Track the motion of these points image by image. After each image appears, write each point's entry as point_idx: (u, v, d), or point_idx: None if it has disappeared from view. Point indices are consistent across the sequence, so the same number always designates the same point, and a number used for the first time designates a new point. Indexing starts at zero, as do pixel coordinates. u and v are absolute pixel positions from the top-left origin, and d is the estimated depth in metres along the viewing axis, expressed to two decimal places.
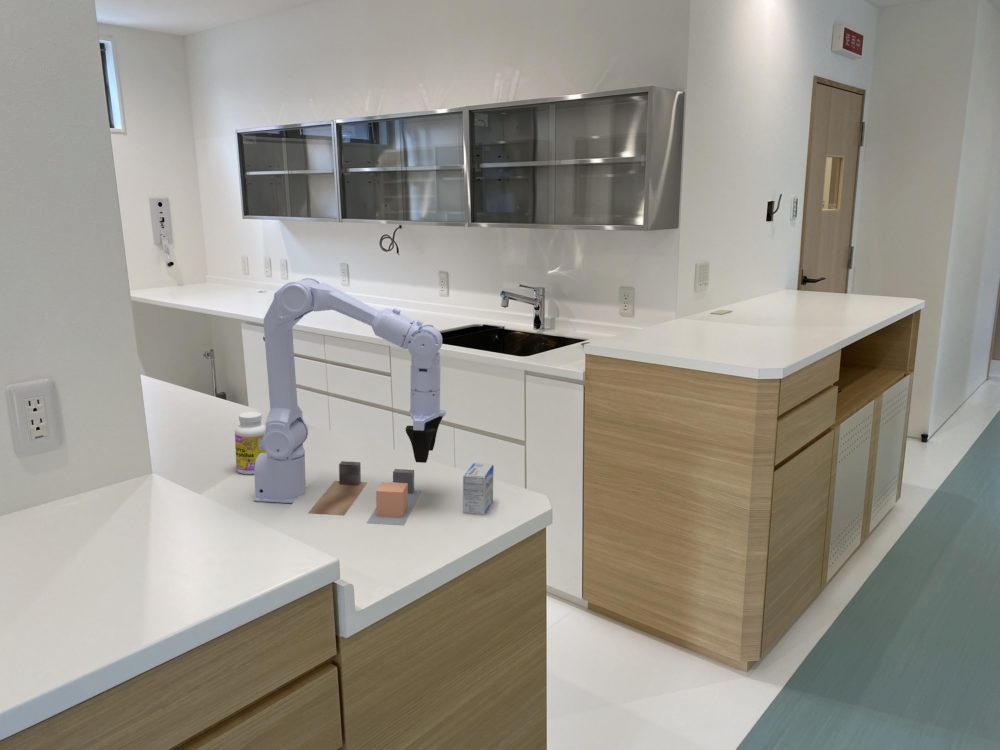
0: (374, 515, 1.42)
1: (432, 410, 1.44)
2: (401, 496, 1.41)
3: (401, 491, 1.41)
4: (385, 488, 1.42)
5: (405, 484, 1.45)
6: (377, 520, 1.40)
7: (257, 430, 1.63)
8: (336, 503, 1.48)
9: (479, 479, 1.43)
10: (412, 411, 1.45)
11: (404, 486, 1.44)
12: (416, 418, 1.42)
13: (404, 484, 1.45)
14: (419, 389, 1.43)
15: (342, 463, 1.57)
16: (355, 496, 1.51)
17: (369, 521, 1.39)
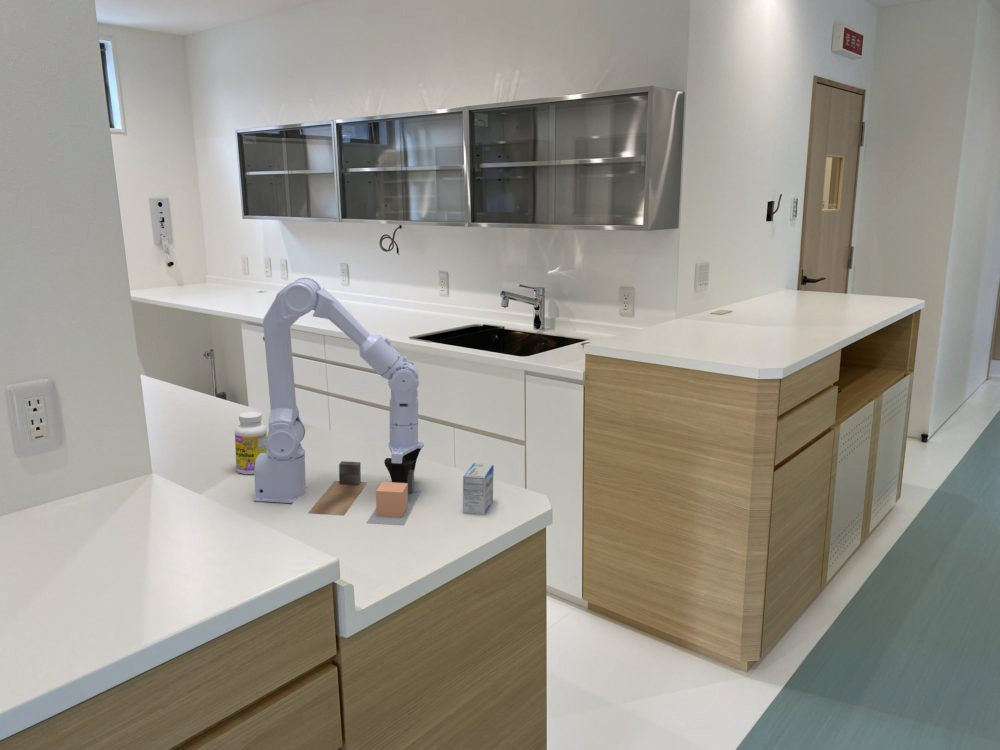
0: (374, 515, 1.42)
1: (410, 443, 1.50)
2: (401, 496, 1.41)
3: (401, 491, 1.41)
4: (385, 488, 1.42)
5: (405, 484, 1.45)
6: (377, 520, 1.40)
7: (257, 430, 1.63)
8: (336, 503, 1.48)
9: (479, 479, 1.43)
10: (391, 444, 1.51)
11: (404, 486, 1.44)
12: (394, 451, 1.48)
13: (404, 484, 1.45)
14: (400, 423, 1.49)
15: (342, 463, 1.57)
16: (355, 496, 1.51)
17: (369, 521, 1.39)
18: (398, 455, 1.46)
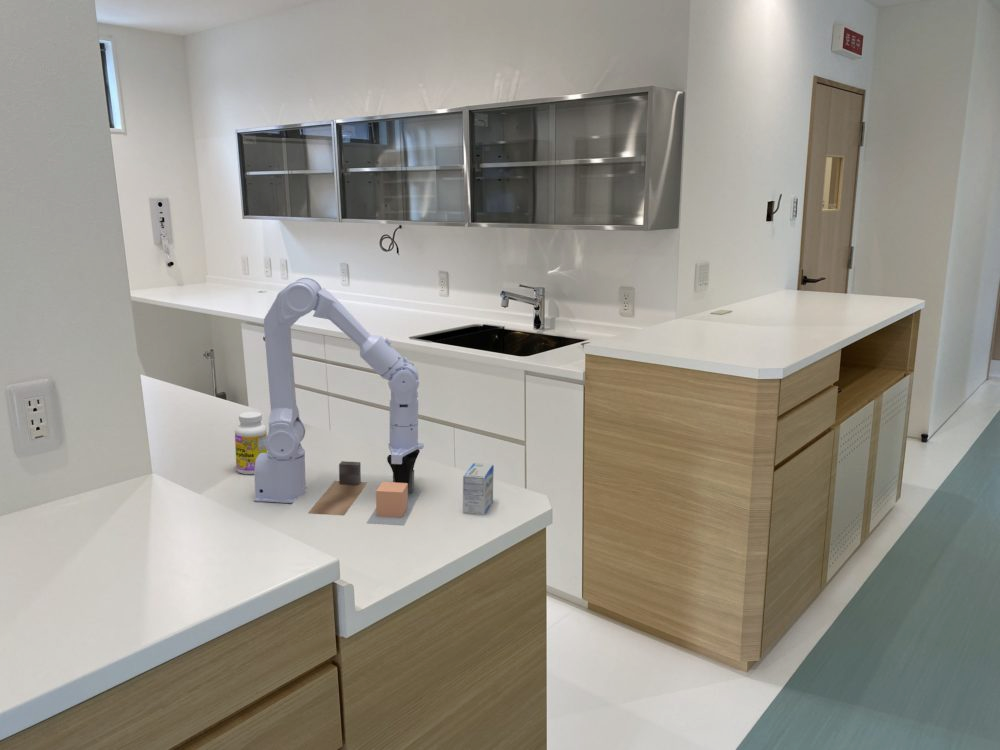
0: (374, 515, 1.42)
1: (410, 443, 1.50)
2: (401, 496, 1.41)
3: (401, 491, 1.41)
4: (385, 488, 1.42)
5: (405, 484, 1.45)
6: (377, 520, 1.40)
7: (257, 430, 1.63)
8: (336, 503, 1.48)
9: (479, 479, 1.43)
10: (391, 444, 1.51)
11: (404, 486, 1.44)
12: (394, 452, 1.48)
13: (404, 484, 1.45)
14: (400, 424, 1.49)
15: (342, 463, 1.57)
16: (355, 496, 1.51)
17: (369, 521, 1.39)
18: (398, 456, 1.46)
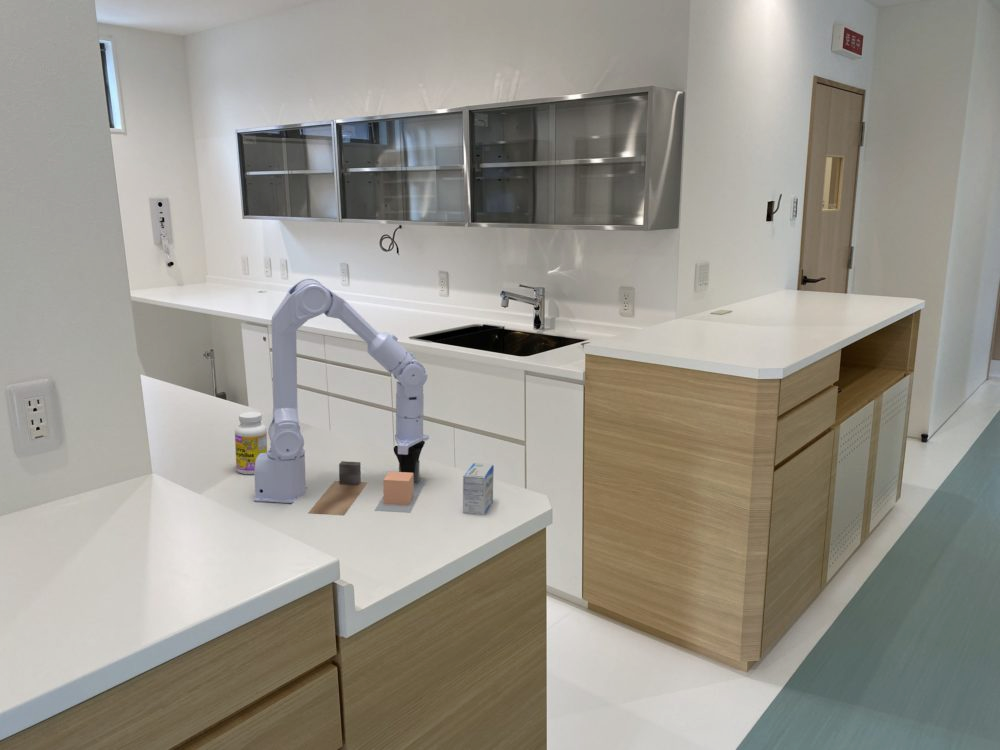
0: (381, 503, 1.48)
1: (416, 435, 1.56)
2: (407, 485, 1.47)
3: (407, 480, 1.47)
4: (391, 477, 1.48)
5: (411, 473, 1.51)
6: (384, 508, 1.46)
7: (257, 430, 1.63)
8: (336, 503, 1.48)
9: (479, 479, 1.43)
10: (397, 436, 1.57)
11: (410, 475, 1.50)
12: (401, 443, 1.54)
13: (410, 473, 1.51)
14: (409, 416, 1.55)
15: (342, 463, 1.57)
16: (355, 496, 1.51)
17: (377, 509, 1.45)
18: (404, 446, 1.52)
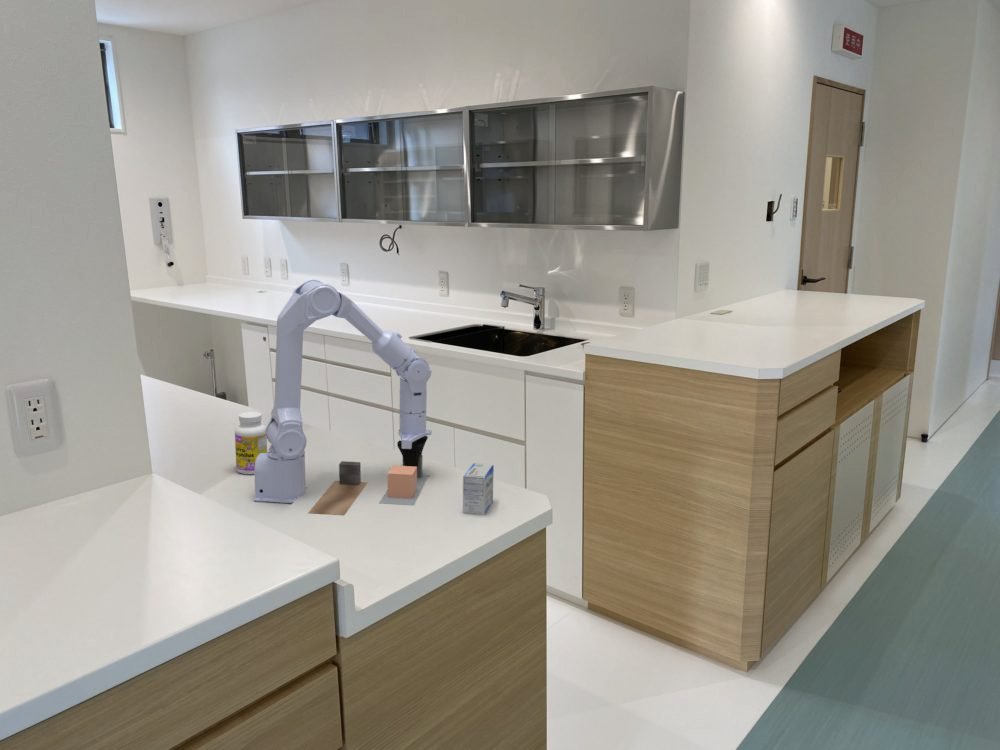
0: (386, 496, 1.52)
1: (419, 430, 1.60)
2: (411, 478, 1.50)
3: (411, 473, 1.51)
4: (395, 470, 1.52)
5: (414, 467, 1.54)
6: (389, 500, 1.50)
7: (257, 430, 1.63)
8: (336, 503, 1.48)
9: (479, 479, 1.43)
10: (401, 431, 1.61)
11: (414, 469, 1.53)
12: (404, 437, 1.58)
13: (414, 467, 1.54)
14: (414, 411, 1.59)
15: (342, 463, 1.57)
16: (355, 496, 1.51)
17: (381, 501, 1.49)
18: (408, 441, 1.55)
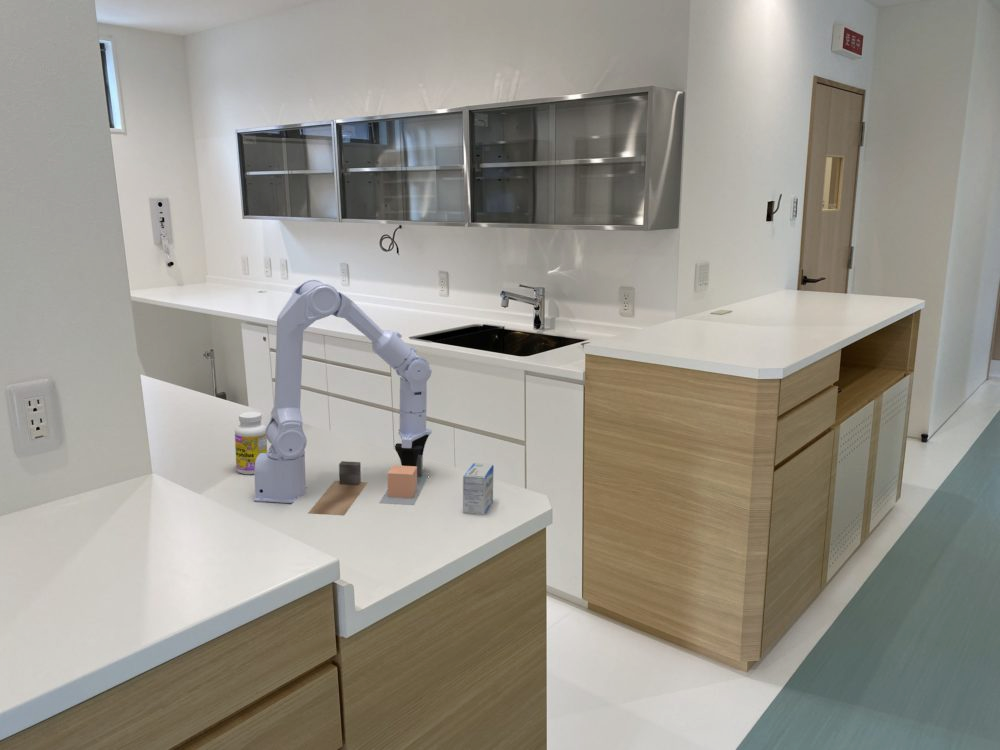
0: (386, 496, 1.52)
1: (419, 429, 1.60)
2: (411, 478, 1.50)
3: (411, 473, 1.51)
4: (396, 470, 1.52)
5: (415, 467, 1.54)
6: (389, 500, 1.50)
7: (257, 430, 1.63)
8: (336, 503, 1.48)
9: (479, 479, 1.43)
10: (401, 430, 1.61)
11: (414, 469, 1.53)
12: (404, 437, 1.58)
13: (414, 467, 1.55)
14: (414, 411, 1.59)
15: (342, 463, 1.57)
16: (355, 496, 1.51)
17: (381, 501, 1.49)
18: (408, 440, 1.55)
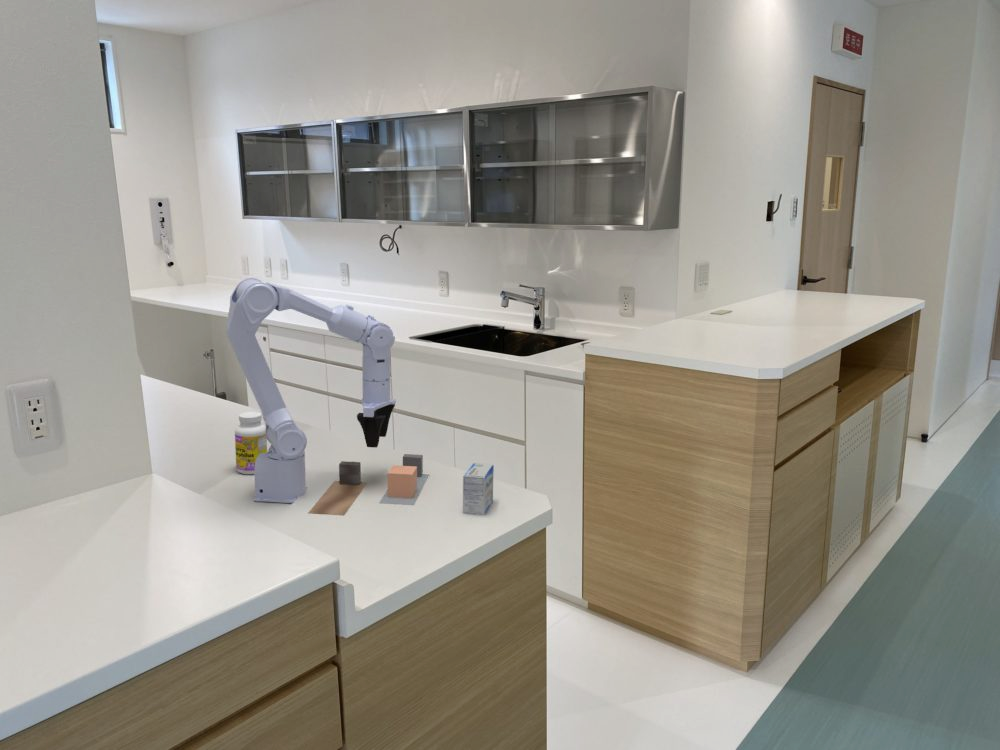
0: (386, 496, 1.52)
1: (382, 398, 1.55)
2: (411, 478, 1.50)
3: (411, 473, 1.51)
4: (396, 470, 1.52)
5: (415, 467, 1.54)
6: (389, 500, 1.50)
7: (257, 430, 1.63)
8: (336, 503, 1.48)
9: (479, 479, 1.43)
10: (364, 399, 1.56)
11: (414, 469, 1.53)
12: (367, 406, 1.53)
13: (414, 467, 1.55)
14: (377, 379, 1.54)
15: (342, 463, 1.57)
16: (355, 496, 1.51)
17: (381, 501, 1.49)
18: (370, 409, 1.51)
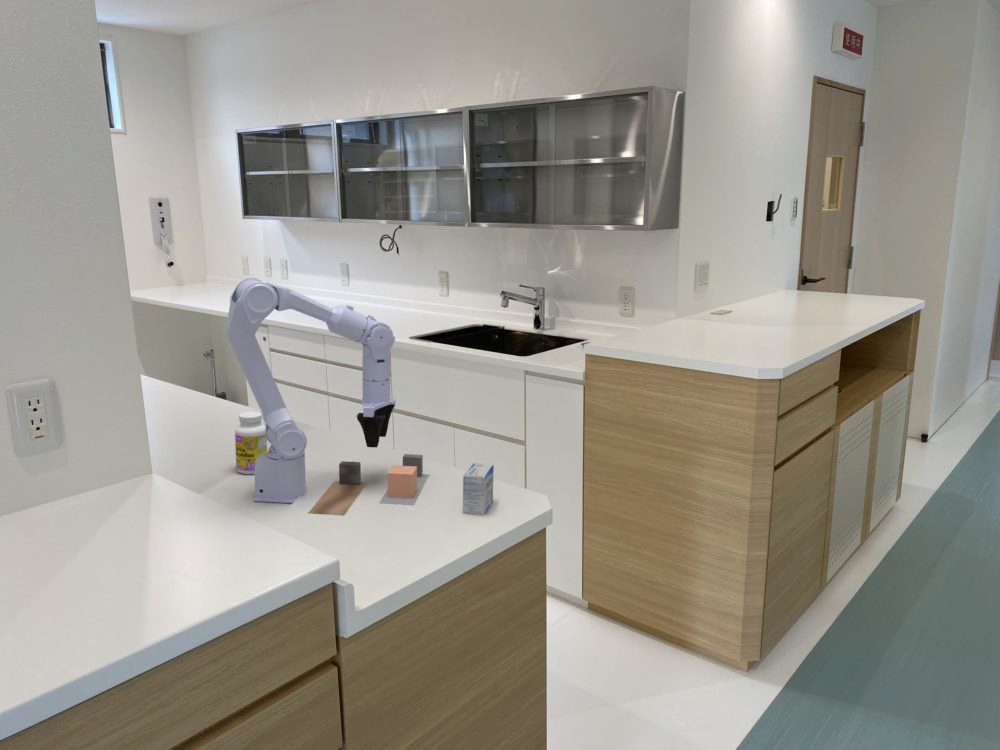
0: (386, 496, 1.52)
1: (382, 398, 1.55)
2: (411, 478, 1.50)
3: (411, 473, 1.51)
4: (396, 470, 1.52)
5: (415, 467, 1.54)
6: (389, 500, 1.50)
7: (257, 430, 1.63)
8: (336, 503, 1.48)
9: (479, 479, 1.43)
10: (364, 399, 1.56)
11: (414, 469, 1.53)
12: (367, 406, 1.53)
13: (414, 467, 1.55)
14: (377, 379, 1.54)
15: (342, 463, 1.57)
16: (355, 496, 1.51)
17: (381, 501, 1.49)
18: (370, 409, 1.51)
